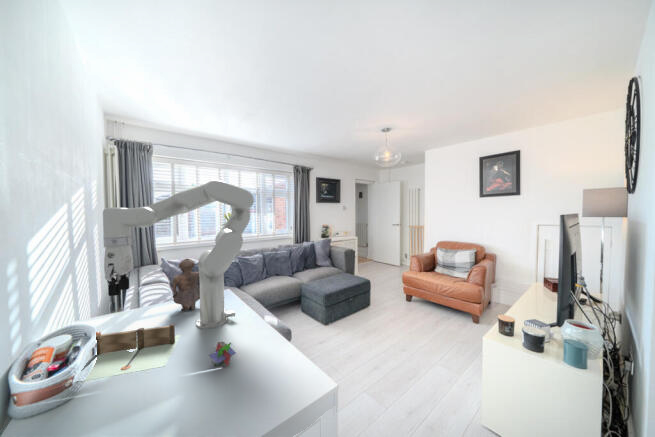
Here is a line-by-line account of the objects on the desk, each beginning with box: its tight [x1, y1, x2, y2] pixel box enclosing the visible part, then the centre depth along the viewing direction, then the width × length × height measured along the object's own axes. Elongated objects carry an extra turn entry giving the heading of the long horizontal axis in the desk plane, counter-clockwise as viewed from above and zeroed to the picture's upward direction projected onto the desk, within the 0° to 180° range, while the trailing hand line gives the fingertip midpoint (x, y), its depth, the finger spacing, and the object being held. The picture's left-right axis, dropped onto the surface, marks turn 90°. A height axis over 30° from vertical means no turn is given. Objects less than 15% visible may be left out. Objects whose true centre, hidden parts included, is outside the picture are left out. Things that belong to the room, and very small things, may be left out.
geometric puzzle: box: [208, 341, 237, 367], centre depth 75 cm, size 7×7×8 cm
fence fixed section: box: [136, 323, 176, 350], centre depth 84 cm, size 11×2×7 cm, turn 109°
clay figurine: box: [171, 258, 200, 312], centre depth 116 cm, size 13×10×25 cm
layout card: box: [84, 334, 182, 382], centre depth 79 cm, size 23×20×1 cm
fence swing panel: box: [95, 329, 137, 356], centre depth 80 cm, size 12×2×8 cm, turn 109°
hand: (119, 291), depth 85 cm, fingers open, 5 cm apart
